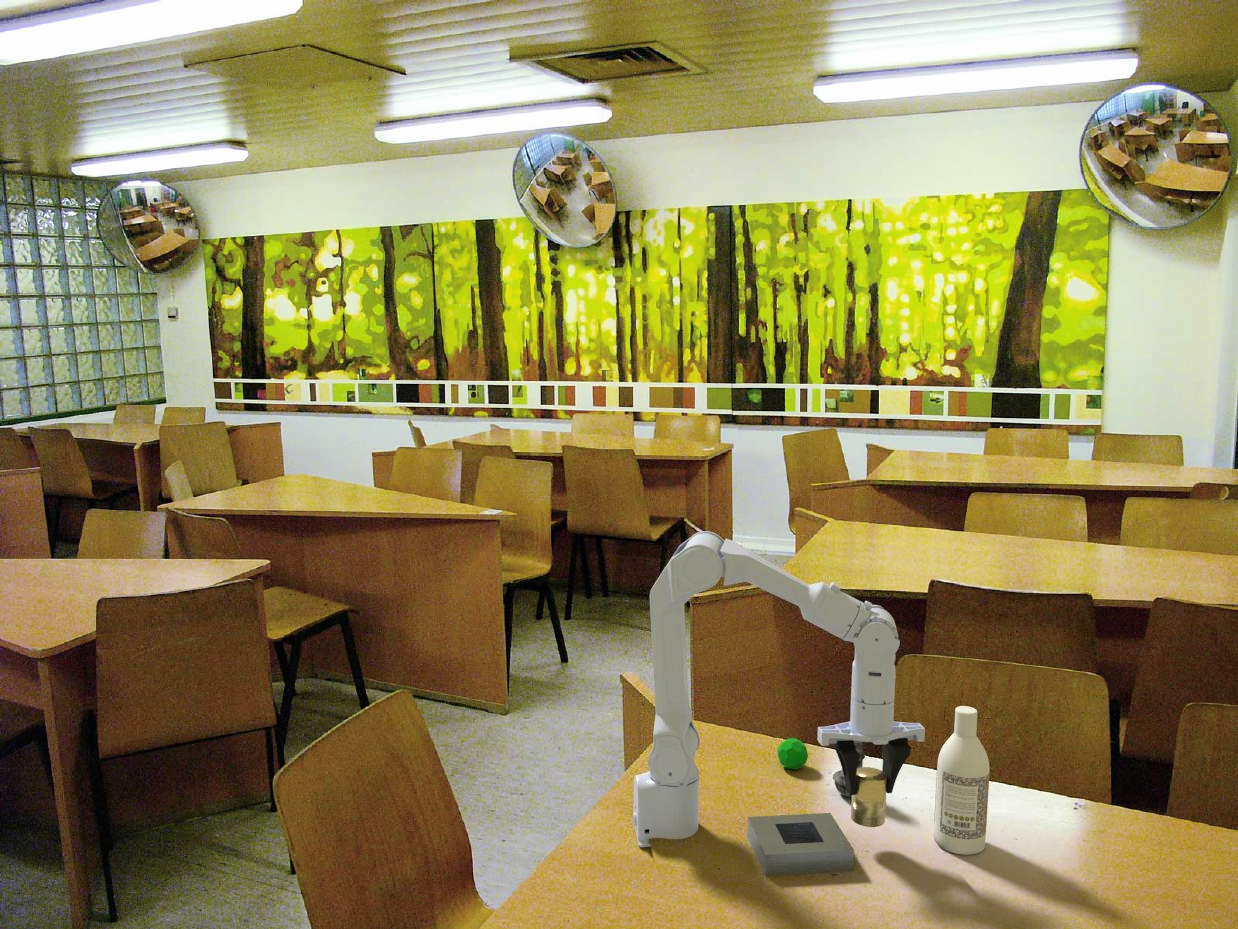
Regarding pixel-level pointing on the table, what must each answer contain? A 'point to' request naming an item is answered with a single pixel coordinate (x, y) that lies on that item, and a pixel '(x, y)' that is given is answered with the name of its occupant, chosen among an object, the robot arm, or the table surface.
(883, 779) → the plug
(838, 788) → the grey chess piece
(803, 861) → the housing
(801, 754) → the polyhedron
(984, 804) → the bath foam
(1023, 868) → the table surface
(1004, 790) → the table surface
